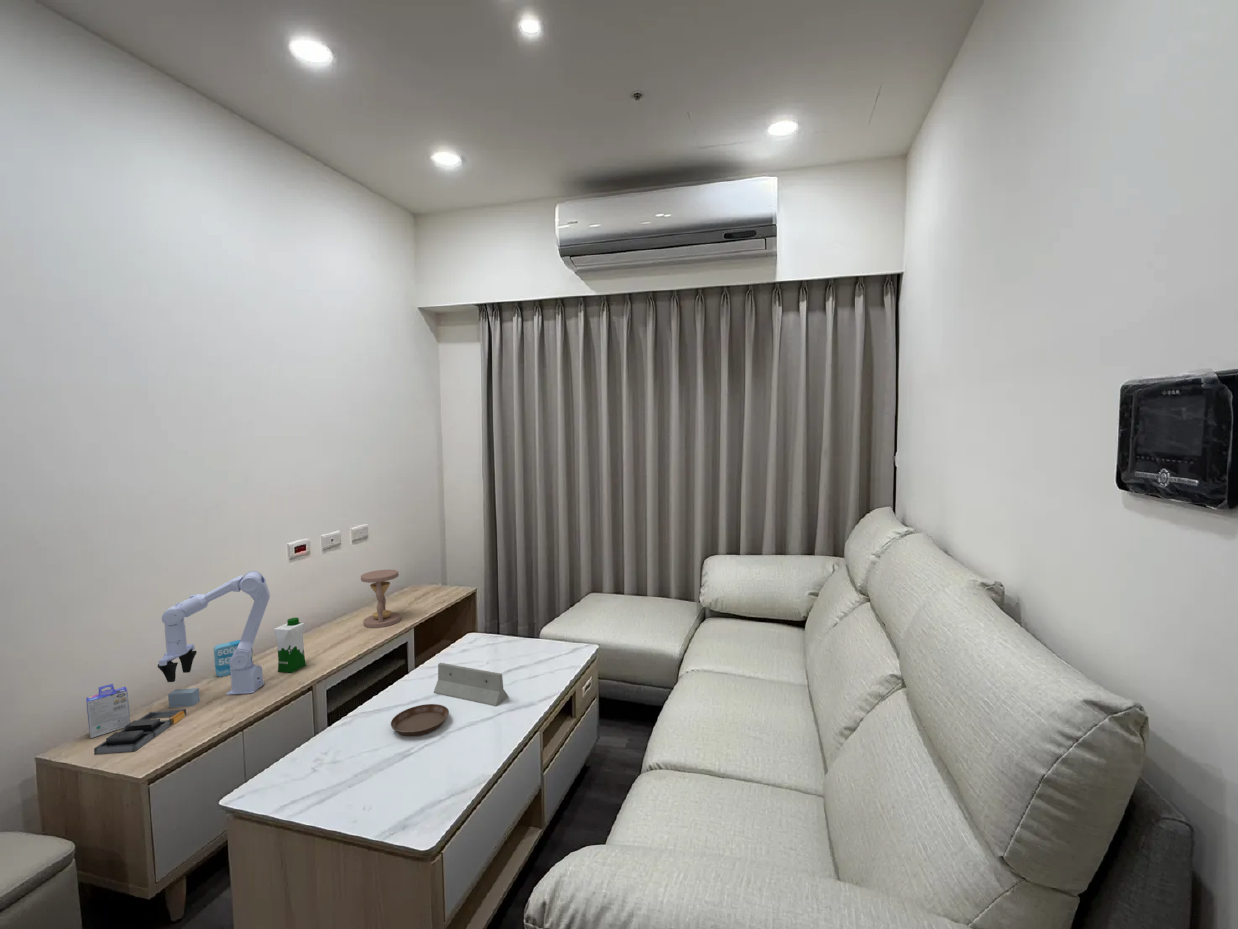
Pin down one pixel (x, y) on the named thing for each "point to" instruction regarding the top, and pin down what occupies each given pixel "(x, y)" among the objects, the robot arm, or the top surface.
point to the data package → (224, 657)
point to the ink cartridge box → (108, 710)
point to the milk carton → (290, 646)
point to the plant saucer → (419, 720)
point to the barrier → (470, 684)
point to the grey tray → (139, 732)
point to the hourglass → (380, 598)
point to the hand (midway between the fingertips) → (179, 676)
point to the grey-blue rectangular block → (183, 697)
